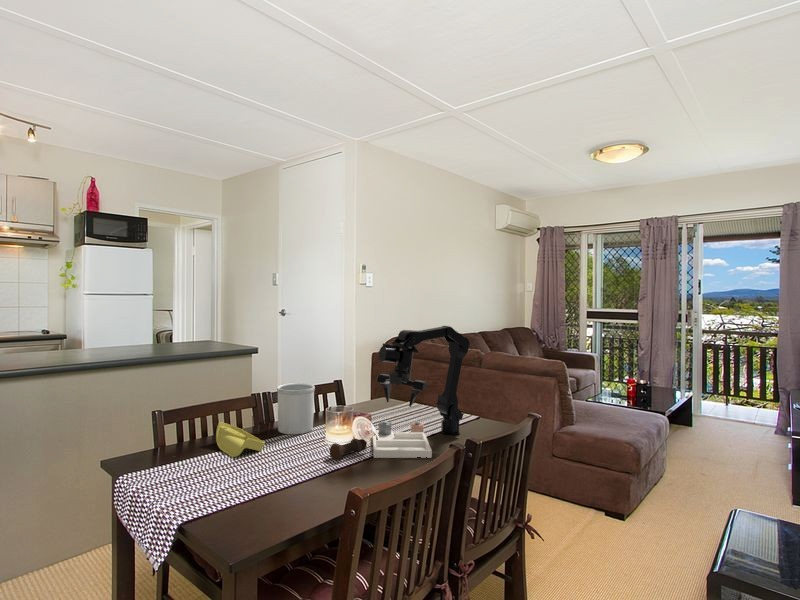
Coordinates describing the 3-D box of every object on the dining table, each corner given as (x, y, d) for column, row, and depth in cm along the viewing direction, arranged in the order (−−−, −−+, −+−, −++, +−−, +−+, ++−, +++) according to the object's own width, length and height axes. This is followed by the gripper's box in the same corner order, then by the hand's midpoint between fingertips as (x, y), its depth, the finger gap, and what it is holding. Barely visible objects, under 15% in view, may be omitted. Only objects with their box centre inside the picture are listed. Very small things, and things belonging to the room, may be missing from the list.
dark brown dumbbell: (365, 453, 168) (335, 464, 156) (356, 444, 171) (326, 453, 159) (372, 441, 166) (342, 451, 154) (363, 432, 169) (333, 440, 157)
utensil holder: (268, 429, 186) (269, 386, 186) (297, 421, 198) (298, 381, 198) (292, 437, 177) (293, 392, 177) (321, 429, 189) (322, 386, 189)
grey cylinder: (390, 431, 187) (391, 420, 187) (391, 435, 182) (391, 423, 182) (378, 431, 187) (378, 419, 187) (378, 435, 182) (379, 423, 182)
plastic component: (267, 443, 163) (245, 437, 156) (258, 464, 162) (234, 459, 154) (238, 427, 176) (216, 420, 169) (229, 446, 174) (206, 440, 167)
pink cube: (422, 432, 189) (422, 421, 189) (424, 436, 184) (424, 424, 184) (410, 432, 189) (410, 420, 189) (411, 436, 184) (411, 424, 184)
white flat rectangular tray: (421, 431, 190) (421, 425, 190) (431, 457, 161) (431, 450, 161) (372, 431, 188) (372, 425, 188) (373, 457, 159) (374, 450, 159)
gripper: (373, 360, 173) (367, 402, 172) (420, 368, 166) (415, 412, 165) (384, 359, 183) (379, 398, 183) (429, 367, 176) (424, 408, 176)
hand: (398, 404), depth 176 cm, fingers open, 9 cm apart
